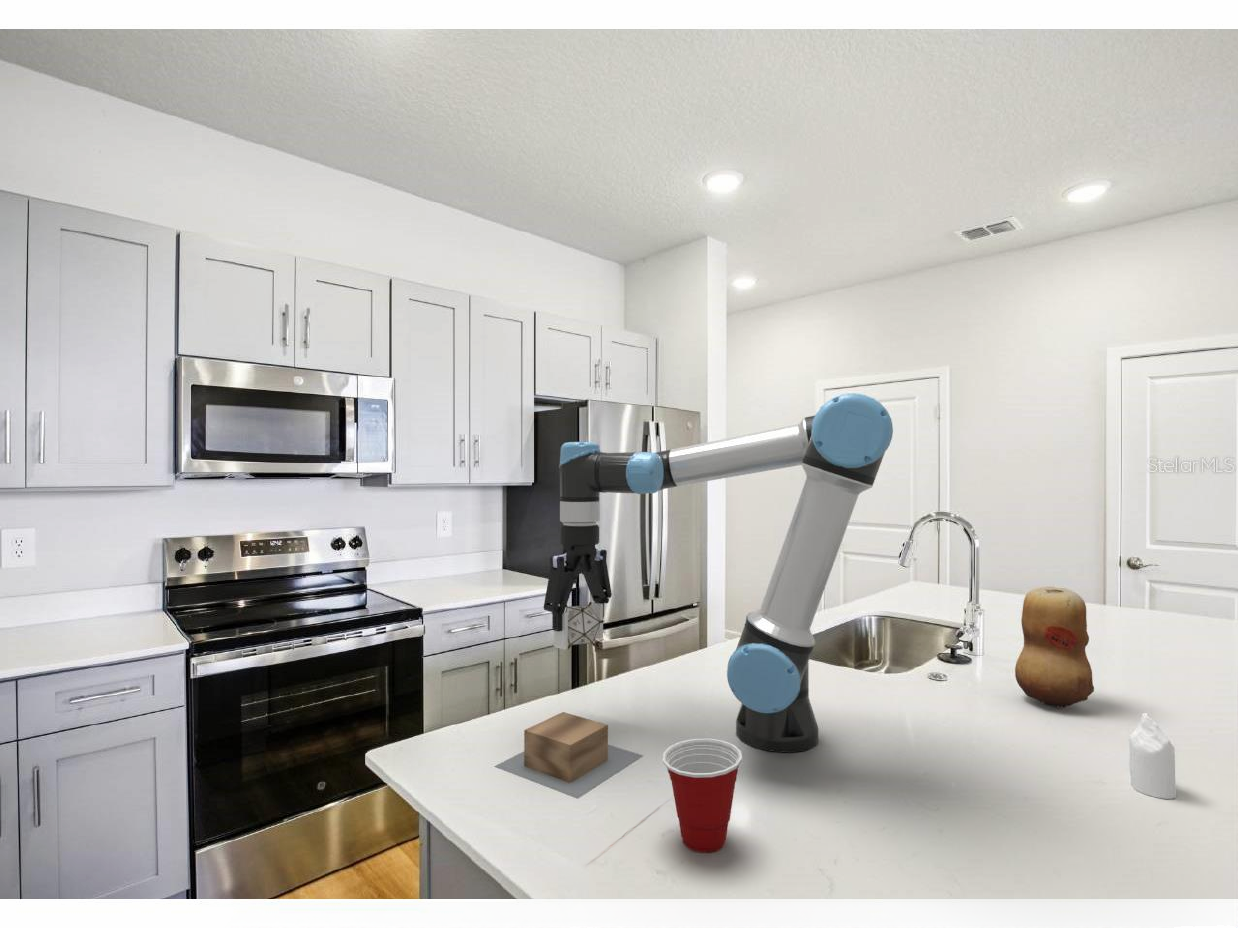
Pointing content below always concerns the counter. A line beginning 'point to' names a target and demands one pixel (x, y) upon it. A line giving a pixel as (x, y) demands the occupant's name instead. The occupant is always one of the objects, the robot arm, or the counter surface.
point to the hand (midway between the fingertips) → (579, 642)
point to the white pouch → (1152, 760)
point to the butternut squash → (1054, 648)
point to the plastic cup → (703, 789)
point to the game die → (582, 625)
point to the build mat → (583, 784)
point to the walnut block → (566, 746)
